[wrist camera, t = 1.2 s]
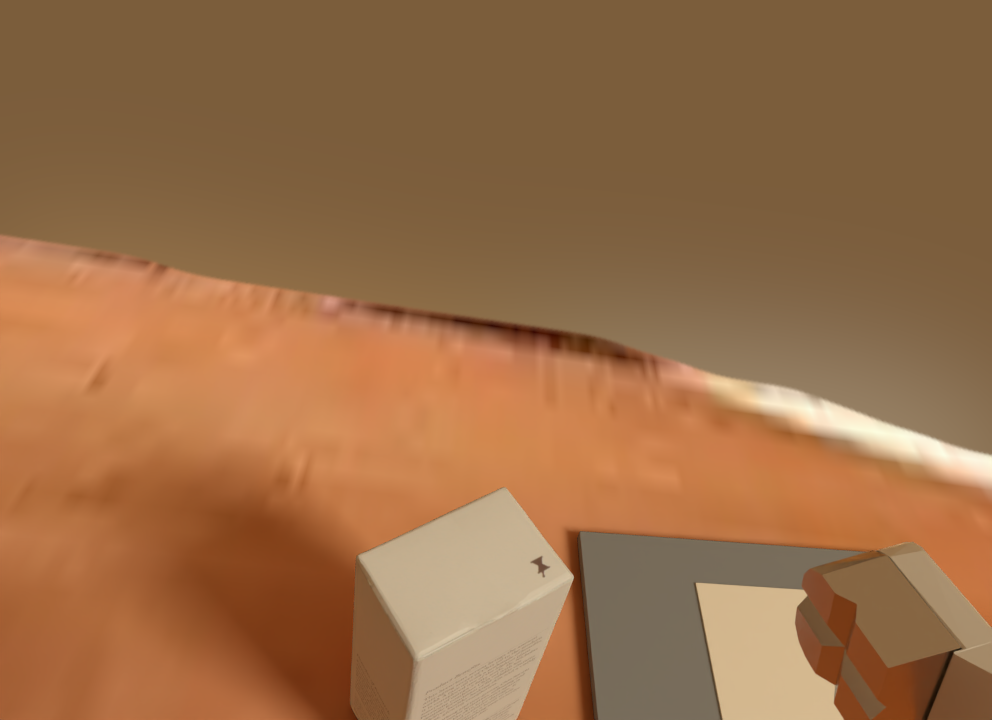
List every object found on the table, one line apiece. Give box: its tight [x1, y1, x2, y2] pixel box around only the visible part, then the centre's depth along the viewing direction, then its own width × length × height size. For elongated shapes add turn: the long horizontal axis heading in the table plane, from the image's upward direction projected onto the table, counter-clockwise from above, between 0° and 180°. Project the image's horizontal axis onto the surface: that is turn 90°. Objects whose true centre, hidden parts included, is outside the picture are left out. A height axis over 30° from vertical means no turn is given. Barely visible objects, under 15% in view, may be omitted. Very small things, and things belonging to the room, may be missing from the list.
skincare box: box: [350, 487, 574, 720], centre depth 32 cm, size 6×4×12 cm
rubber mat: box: [577, 531, 865, 720], centre depth 40 cm, size 18×12×1 cm, turn 90°
